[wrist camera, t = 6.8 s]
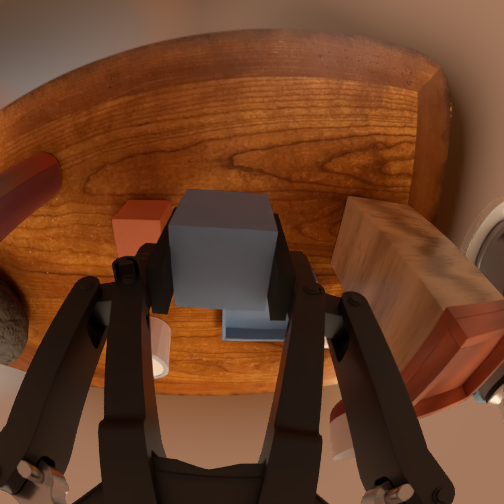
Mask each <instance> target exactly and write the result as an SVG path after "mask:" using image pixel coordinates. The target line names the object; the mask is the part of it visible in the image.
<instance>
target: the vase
mask: <svg viewBox="0 0 504 504" xmlns="http://www.w3.org/2000/svg"><path fill="white" fill-rule="evenodd" d="M28 326H29V321H28V319H27V317H26V314H25V312H24V309H23V307H22V305H21V301H20V299H19V296H18V295H17V293H16V292H15V291H14V289H13V288H12V287H11V286H10V285H9V284H8V283H7V282H4V281H1V280H0V364H9V363H11V362H13V361H14V360H16V359H18V357H19V356H20V355H21V354H22V352H23V350H24V348H25V345H26V343H27V340H28Z"/></svg>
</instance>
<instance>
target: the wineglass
mask: <svg viewBox="0 0 504 504" xmlns="http://www.w3.org/2000/svg"><path fill="white" fill-rule="evenodd" d="M324 348H329V346H328V343H327V339H326V337H325V342H324ZM330 443H331V451H332V457H333V460H345V459H350V458H355V452H354V448H353V443H352V438H351V434H350V429H349V425H348V421H347V416H346V412H345V408H344V404H343V400H340V401H339V402H338V403H337V404H336V405H335V407H334V408H333V409H332V412H331V415H330Z"/></svg>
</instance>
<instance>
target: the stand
mask: <svg viewBox="0 0 504 504" xmlns="http://www.w3.org/2000/svg"><path fill="white" fill-rule="evenodd" d="M331 265H332V267H333V269H334V271H335V274H336V276H337V278H338V280H339V282H340V284H341V286H342V288H343V290H344V293H345V292H347V291H354V292H357V293H360V294H361V295H363V296H364V297H365V298H366V299H367V301H368V303H369V305H370V307H371V309H372V311H373V313H374V315H375V318H376V320H377V322H378V324H379V326H380V328H381V330H382V332H383V335H384V337H385V339H386V341H387V343H388V346H389V348H390V350H391V353H392V355H393V357H394V359H395V362H396V364H397V367H398V369H399V371H400V374H401V376H402V379H403V381H404V384H405V386H406V389H407V391H408V394H409V397H410V399H411V402H412V404H413V407H414V410H415V413H416V415H417V418H418V419H421V418H424V417H426V416H429V415H432V414H434V413H437V412H440V411H442V410H444V409H447V408H449V407H452V406H454V405H456V404H458V403H461V402H463V401H465V400H467V399H468V398H469V397H471V395H473V394H474V393H475V392H476V391H477V390H478V389H479V388H480V387H481V386H482V385H483V384H484V383H485V382H486V381H487V380H488V378H489V377H490V376H491V375H492V374H493V373H494V372H495V371H496V370H497V369H498V367H499V366H500V365H501V364H502V363H503V362H504V297H503V296H502V295H501V294H500V292H499V291H498V290H497V289H496V288H495V287H494V286H493V284H492V283H491V282H490V281H489V280H488V279H487V278H486V277H485V275H484V274H483V273H482V272H481V271H480V270H479V269H478V268H477V267H476V266H475V265H474V264H473V263H472V262H471V261H470V260H469V259H468V258H467V257H466V256H465V255H464V254H463V253H462V252H461V251H460V250H459V249H458V248H457V247H456V246H455V245H454V244H453V243H452V242H451V241H450V240H449V239H448V238H447V237H446V236H444V235H443V234H442V233H441V232H440V231H439V230H438V229H437V228H436V227H435V226H433V225H432V224H431V223H430V222H429V221H428V220H426V219H425V218H424V217H423V216H422V215H421V214H419V213H418V212H417V211H416V210H415V209H413V208H412V207H411V206H410V205H405V204H399V203H393V202H387V201H381V200H374V199H367V198H361V197H353V196H348V197H347V201H346V206H345V210H344V214H343V218H342V222H341V226H340V230H339V233H338V237H337V241H336V245H335V248H334V252H333V255H332V259H331Z"/></svg>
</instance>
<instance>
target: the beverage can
mask: <svg viewBox="0 0 504 504" xmlns="http://www.w3.org/2000/svg"><path fill="white" fill-rule="evenodd" d="M61 180H62V174H61V169H60V166H59V164H58V162H57V160H56V159H55V158H54V157H53V156H51V155H50V154H47V153H44V152H41V153H37V154H35V155H33V156H31V157H29V158H27V159H25V160H23V161H21V162H19V163H17V164H15V165H13V166H11V167H9V168H7V169H5V170H4V171H2V172H0V242H1V241H2V240H3V239H4V238H5V237H6V236H7V235H8V234H9V233H10V232H12V231H13V230H14V229H15V228H16V227H17V226H18V225H19V224H21V223H22V222H23V221H24V220H25V219H26V218H28V217H29V216H30V215H31V214H32V213H34V212H35V211H36V210H37V209H39V208H40V207H41V206H42V205H44V204H45V203H46V202H48V201H49V200H50V199H52V198H53V197H54V196H55V195H56V194H57V193H58V191H59V189H60V185H61Z"/></svg>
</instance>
